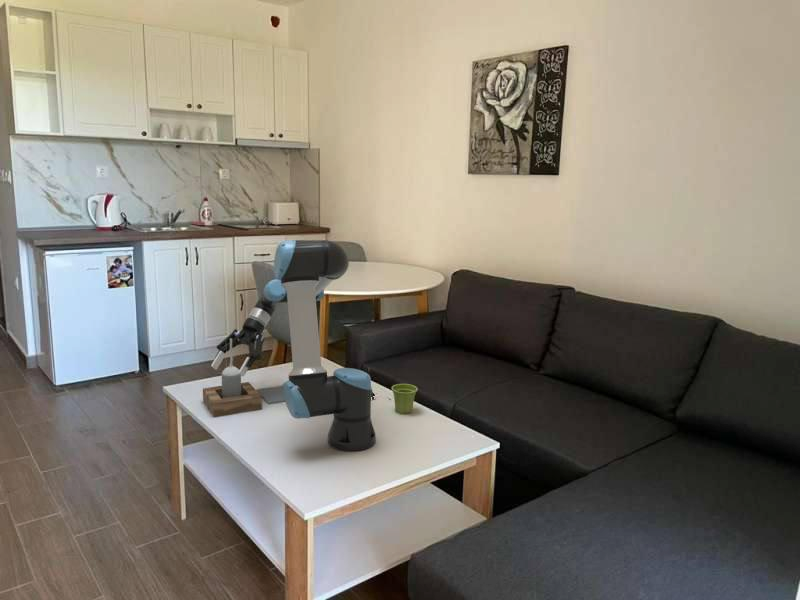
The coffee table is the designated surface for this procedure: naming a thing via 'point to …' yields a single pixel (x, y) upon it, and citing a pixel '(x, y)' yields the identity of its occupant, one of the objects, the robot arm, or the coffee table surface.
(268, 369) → the coffee table surface
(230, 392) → the humidifier
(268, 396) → the mat
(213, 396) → the dock
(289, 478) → the coffee table surface
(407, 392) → the plant pot
